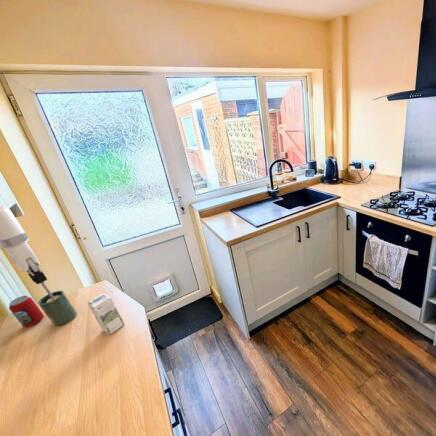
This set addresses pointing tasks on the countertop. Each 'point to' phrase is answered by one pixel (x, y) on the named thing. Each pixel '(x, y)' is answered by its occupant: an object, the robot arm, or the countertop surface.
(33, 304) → the beverage can
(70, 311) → the dark green mug
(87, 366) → the countertop surface
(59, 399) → the countertop surface
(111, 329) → the syrup box
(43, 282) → the bottle brush
